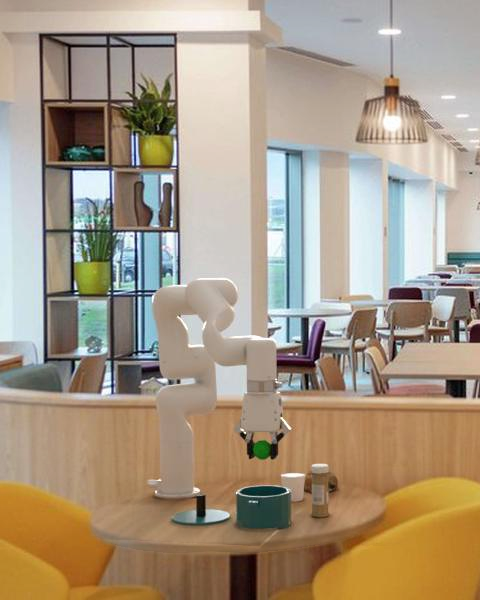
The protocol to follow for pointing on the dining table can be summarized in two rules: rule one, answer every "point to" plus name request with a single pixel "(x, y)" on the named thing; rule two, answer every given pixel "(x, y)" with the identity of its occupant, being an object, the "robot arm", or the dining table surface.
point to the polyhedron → (261, 449)
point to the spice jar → (320, 490)
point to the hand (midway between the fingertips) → (262, 457)
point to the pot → (263, 507)
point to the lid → (201, 514)
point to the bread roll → (331, 481)
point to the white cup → (294, 485)
